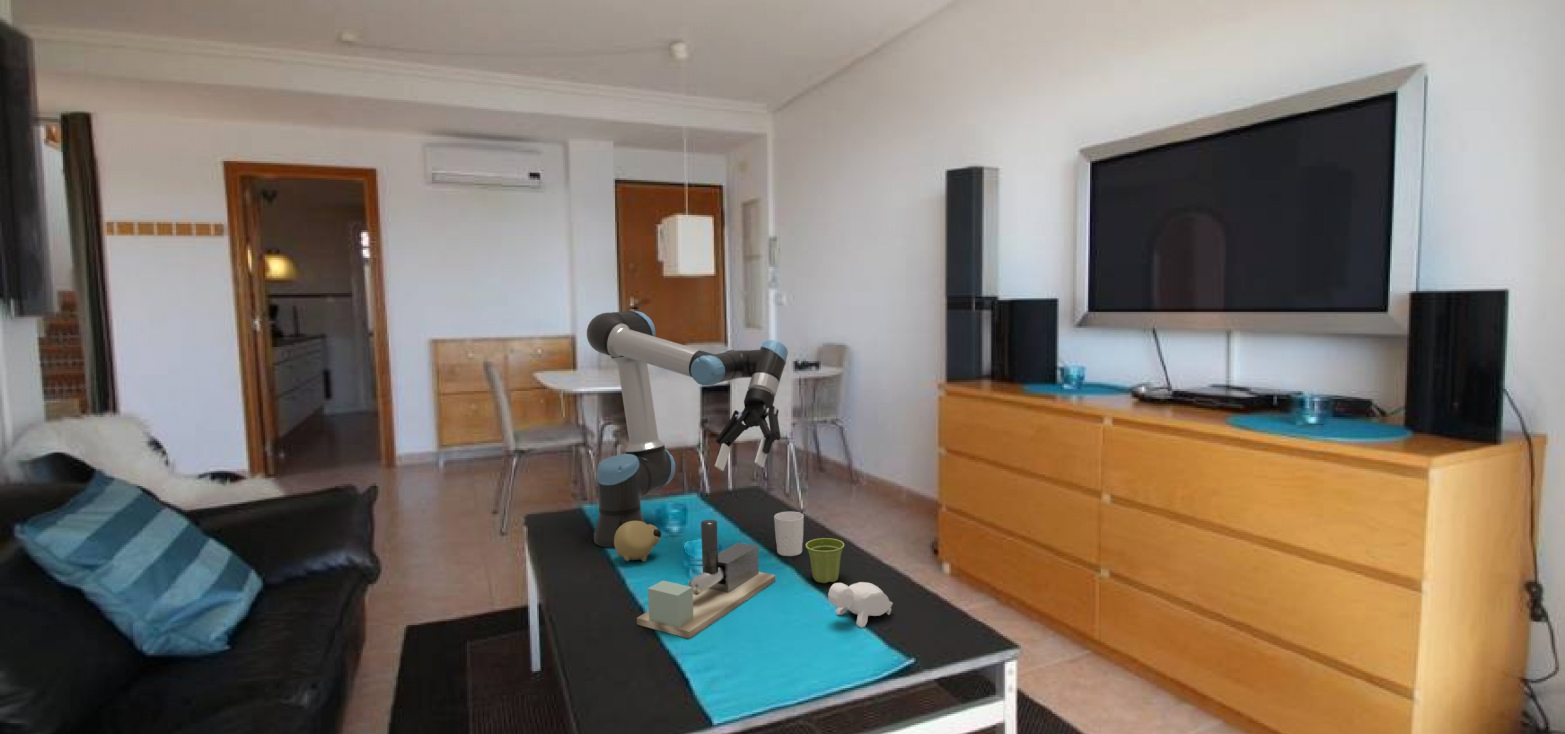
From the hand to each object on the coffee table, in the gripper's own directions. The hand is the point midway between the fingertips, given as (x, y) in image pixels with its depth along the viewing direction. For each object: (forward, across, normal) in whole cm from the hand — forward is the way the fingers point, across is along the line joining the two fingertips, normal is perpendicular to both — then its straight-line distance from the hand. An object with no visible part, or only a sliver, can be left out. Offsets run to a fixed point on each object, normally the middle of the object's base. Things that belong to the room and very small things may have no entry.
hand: (738, 466), depth 189 cm
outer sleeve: (+26, 0, -9) cm, 27 cm away
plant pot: (+19, -14, -25) cm, 35 cm away
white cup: (+10, +4, -30) cm, 32 cm away
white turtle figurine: (+30, -32, -17) cm, 47 cm away
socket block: (+41, -3, +9) cm, 42 cm away
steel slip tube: (+27, -1, -4) cm, 27 cm away
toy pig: (+22, +33, -5) cm, 40 cm away
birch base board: (+33, -1, -3) cm, 33 cm away
